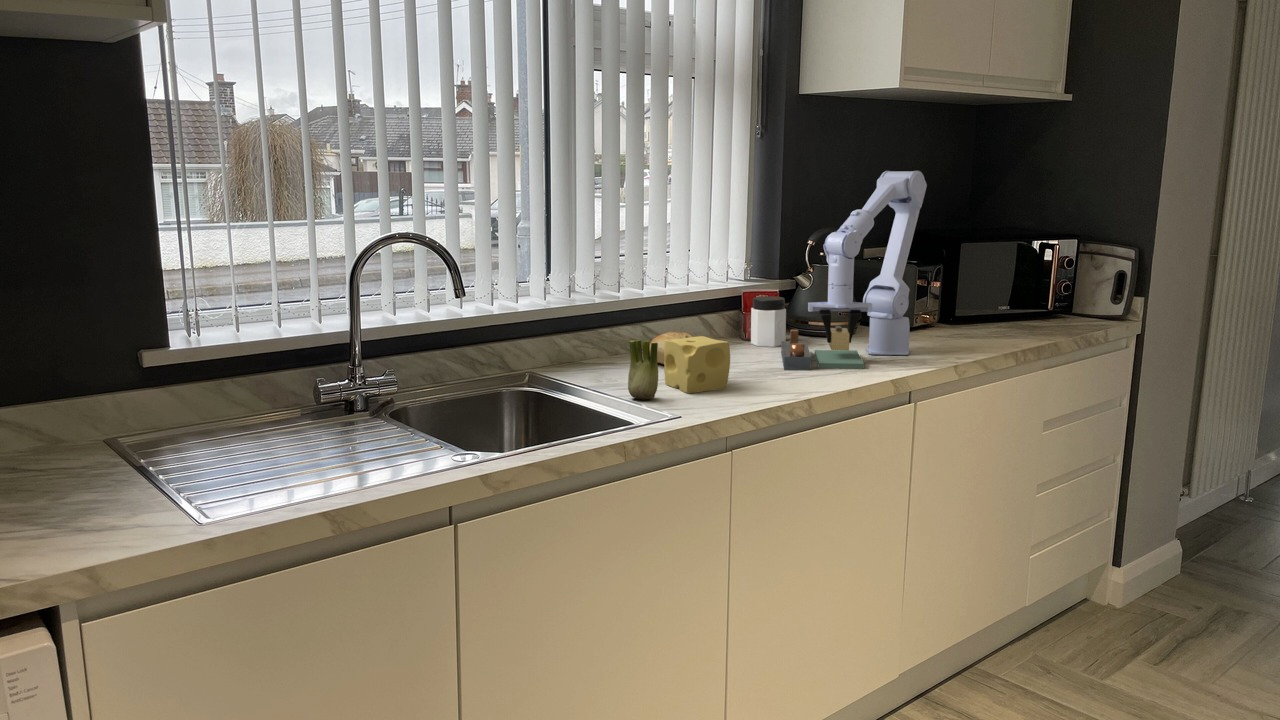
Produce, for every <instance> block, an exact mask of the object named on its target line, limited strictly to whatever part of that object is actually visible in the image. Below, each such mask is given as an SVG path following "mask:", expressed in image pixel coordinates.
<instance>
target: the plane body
mask: <svg viewBox="0 0 1280 720" xmlns="http://www.w3.org/2000/svg"><path fill="white" fill-rule="evenodd" d="M789 332H790V334H789V336H790V337H789V340H785V341H781V346H780V348H781V349H780V353H781V360H782V365H783V370H785V371H811V370H812V355H811V352H810V348H809V346H808V343H807V341H805V340H804V341H803V340H802V341H800V340H799V329H790V331H789Z"/></svg>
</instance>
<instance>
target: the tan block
mask: <svg viewBox="0 0 1280 720" xmlns="http://www.w3.org/2000/svg"><path fill="white" fill-rule="evenodd" d="M849 334H850V333H849V331H848V327H842V325H835V327H831V343H828V346H829V348H830V350H850V343H849Z"/></svg>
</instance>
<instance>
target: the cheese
mask: <svg viewBox="0 0 1280 720" xmlns="http://www.w3.org/2000/svg"><path fill="white" fill-rule="evenodd" d="M664 357H665V361H664V364H663V365H664V369H663V370H664V383H665V385H666V386H668V387H671V388H675V389H679V391H680V392H683V393H685V394H687V395H688V394H689V393H690V394H695V393H701V392H707V391H708V392H709V391H717V390H718V391H719V390H725V389H727V388H728V387H727V386H728V381H729V375H730V369H731V368H730V367H731V349H730V342H729V341H727V340H726V341H725V340H722V339H721V340H719V339H715V338H711V337H707V336H702V335H699V336H692V337H690V338H682V339H670V340H665V346H664Z"/></svg>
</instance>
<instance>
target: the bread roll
mask: <svg viewBox="0 0 1280 720" xmlns="http://www.w3.org/2000/svg"><path fill="white" fill-rule="evenodd" d="M690 337H693V336H692V335H691V334H689V333H687V332H680V331H669V332H666V333H662V334H658V335H657V336H656V337H654V338H653V339H652V340H651V341H650V342H649V343H650V351H651V343H652V342H656V343H658V348H657V364H658V363H659V364H662V365H664V361H665V357H664V346H665V340H670V339H682V338H690Z"/></svg>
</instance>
